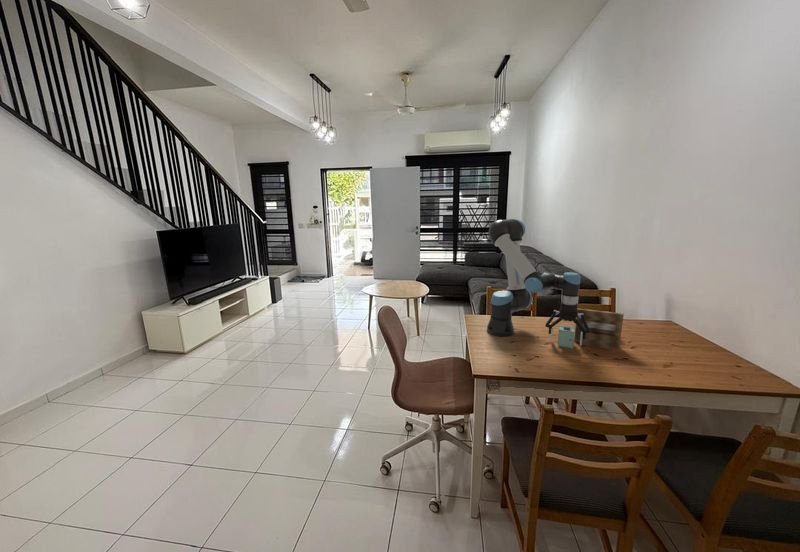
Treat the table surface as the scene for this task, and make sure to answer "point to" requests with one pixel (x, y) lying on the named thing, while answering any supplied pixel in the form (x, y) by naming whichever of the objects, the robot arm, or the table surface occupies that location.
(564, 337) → the cabinet
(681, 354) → the table surface
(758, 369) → the table surface
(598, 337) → the wall board
